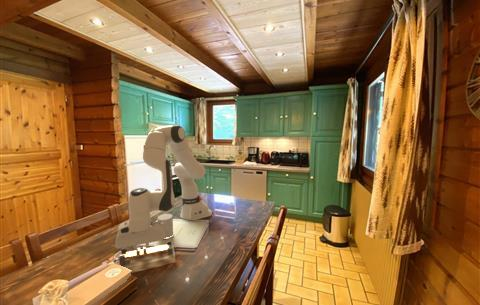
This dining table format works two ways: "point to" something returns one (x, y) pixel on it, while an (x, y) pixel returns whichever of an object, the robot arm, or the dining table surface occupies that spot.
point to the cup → (167, 224)
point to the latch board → (148, 259)
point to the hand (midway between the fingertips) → (141, 252)
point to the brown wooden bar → (149, 251)
